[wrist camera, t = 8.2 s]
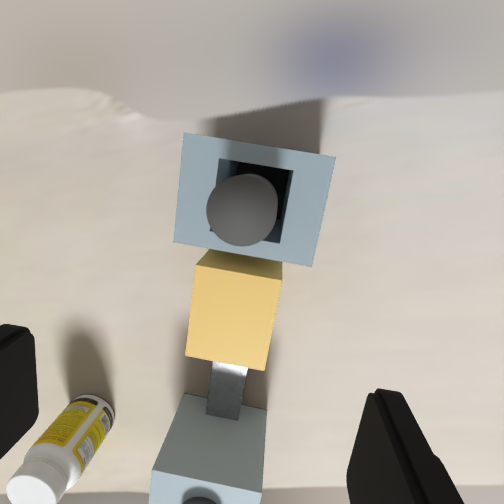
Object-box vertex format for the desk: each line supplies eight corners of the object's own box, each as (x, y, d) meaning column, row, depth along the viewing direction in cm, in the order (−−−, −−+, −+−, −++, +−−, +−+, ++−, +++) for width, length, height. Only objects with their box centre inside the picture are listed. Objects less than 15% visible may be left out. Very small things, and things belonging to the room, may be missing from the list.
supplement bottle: (61, 411, 33) (-12, 492, 24) (87, 384, 31) (19, 459, 23) (98, 440, 33) (39, 528, 25) (125, 414, 32) (71, 498, 24)
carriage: (282, 246, 26) (282, 280, 18) (269, 313, 27) (264, 371, 20) (221, 235, 26) (195, 264, 18) (212, 302, 28) (185, 355, 20)
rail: (272, 231, 26) (271, 236, 24) (241, 404, 30) (238, 420, 28) (235, 225, 26) (231, 229, 24) (210, 398, 30) (205, 414, 29)
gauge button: (282, 178, 17) (282, 182, 13) (272, 233, 18) (270, 252, 14) (226, 169, 17) (210, 170, 13) (219, 224, 18) (202, 240, 14)
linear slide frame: (318, 160, 24) (339, 156, 15) (256, 459, 32) (247, 568, 23) (214, 143, 24) (177, 130, 16) (178, 443, 32) (140, 544, 24)
